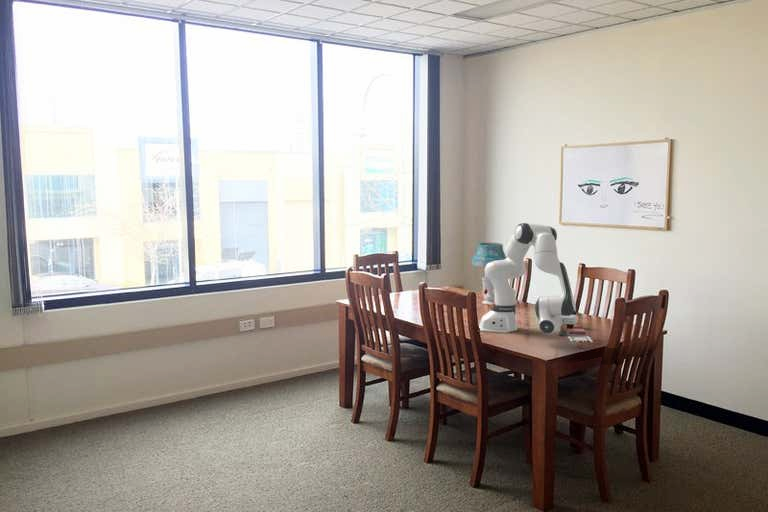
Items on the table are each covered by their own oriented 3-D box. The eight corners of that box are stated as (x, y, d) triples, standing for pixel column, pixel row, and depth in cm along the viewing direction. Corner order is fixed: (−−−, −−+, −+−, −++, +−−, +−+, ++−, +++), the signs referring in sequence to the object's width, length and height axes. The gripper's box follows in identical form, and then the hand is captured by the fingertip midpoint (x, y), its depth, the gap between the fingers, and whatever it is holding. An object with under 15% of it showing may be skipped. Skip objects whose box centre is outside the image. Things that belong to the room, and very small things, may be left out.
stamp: (559, 336, 338) (560, 314, 337) (558, 334, 342) (558, 312, 341) (568, 336, 338) (568, 314, 336) (566, 334, 342) (567, 312, 340)
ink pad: (569, 334, 342) (569, 331, 342) (566, 330, 349) (566, 328, 349) (586, 334, 341) (586, 331, 341) (583, 331, 348) (583, 328, 348)
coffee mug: (564, 329, 352) (565, 312, 350) (556, 326, 360) (557, 308, 359) (583, 328, 355) (583, 310, 353) (574, 324, 363) (575, 307, 362)
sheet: (571, 341, 327) (571, 340, 327) (567, 336, 337) (567, 335, 337) (592, 341, 326) (592, 341, 326) (588, 336, 336) (588, 336, 336)
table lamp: (466, 300, 433) (467, 242, 427) (500, 299, 437) (501, 241, 432) (478, 308, 409) (479, 246, 404) (513, 306, 414) (514, 245, 408)
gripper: (575, 315, 310) (580, 310, 322) (533, 312, 319) (540, 307, 332) (575, 328, 311) (580, 322, 323) (533, 324, 320) (540, 319, 332)
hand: (559, 315), depth 327 cm, fingers open, 8 cm apart
